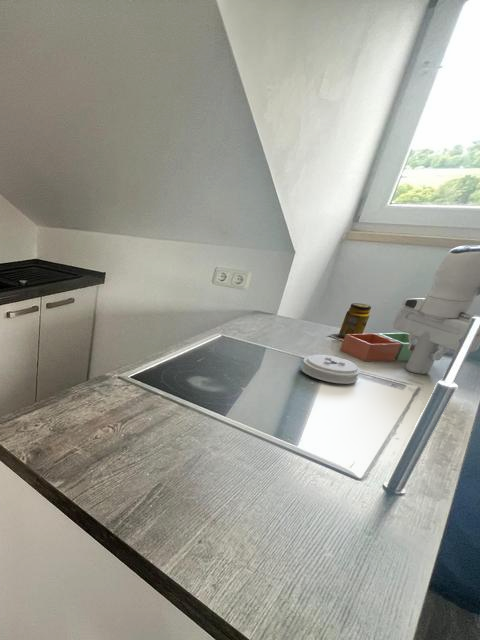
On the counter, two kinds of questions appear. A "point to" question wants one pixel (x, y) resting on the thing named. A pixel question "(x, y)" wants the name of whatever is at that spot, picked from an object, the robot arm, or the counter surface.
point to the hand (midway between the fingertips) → (423, 354)
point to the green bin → (403, 340)
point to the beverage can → (422, 355)
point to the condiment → (354, 321)
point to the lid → (330, 369)
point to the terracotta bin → (370, 347)
